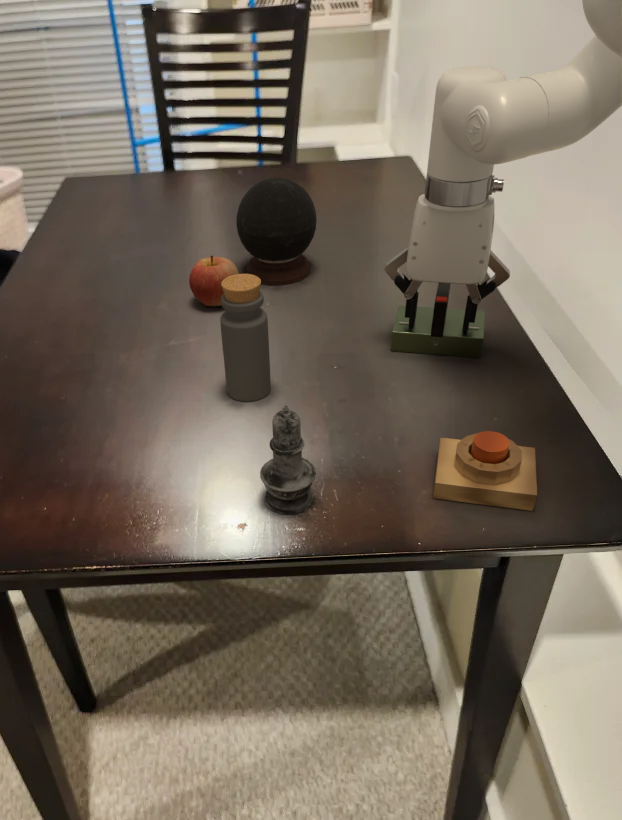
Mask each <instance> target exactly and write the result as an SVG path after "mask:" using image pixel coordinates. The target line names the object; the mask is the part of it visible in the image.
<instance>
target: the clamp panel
mask: <svg viewBox="0 0 622 820" xmlns="http://www.w3.org/2000/svg"><path fill="white" fill-rule="evenodd" d="M405 308H406V305H398V307H397V311H396V314H395V317H394V322H393V326H392V327H393V328H392V330H391V341H390V352H398V353H413V354H425V355H437V356H450V357H462V358H473V359H475V358H476V359H480V358H481V354H482V348H483V343H484V338H485V337H484V336H485V334H484V332H485V317H486V316H485V313H486V312H485V310H477V312H476V318H475V323H469V327H468V331H464V330H463V322H464V315H465V309H460V308H459V309H457V308H447V314H446V320H445V326H444V332H443V337H431V336H430V335H431V328H432V320H433V312H434V307H430V306H428V307H427V306H417V312H416V319H415V323H414V326H412V327H408V326H409V318H405Z"/></svg>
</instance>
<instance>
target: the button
mask: <svg viewBox="0 0 622 820" xmlns="http://www.w3.org/2000/svg"><path fill="white" fill-rule="evenodd" d="M477 433H478V434H477ZM477 433H475V434H476V435H475V436H474V438H473V443H472V448H471V455H472V457H473V458H474V459H476V460H478V461H480V462H482V463H488V464H498V463H502V462H504V461H505V459H506V457H507V453H508V449H509V444H510V443H509V440H508V439H509V438H508V437H507V436H506V435H505V434H502V433H500V432H497V431H495V430H494V431H492V430H485V431H483V430H482V431H480V432H477Z"/></svg>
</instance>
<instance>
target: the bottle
mask: <svg viewBox="0 0 622 820" xmlns="http://www.w3.org/2000/svg"><path fill="white" fill-rule="evenodd" d="M261 285H262V284H261V280H260V278H259V277H257V276H255V275H252V274H246V273H239V274H236V275H231V276H229V277H227V278H225V279H224V280H223V281H222V283H221V286H222V289H223V292H224V294H223V295H222V297H221V303H222V306H221V307H222V308H223V309H224V311H222V313H221V315H220V316H219V317H220V318H219V321H220V322H219V323H220V334H221V345H222V354H223V355H222V357H223V363H224V364H223V365H224V375H225V385H226V392H227V394H228V396H229V397H230V398H231V399H233V400H235V401H239V402H255V401H259V400H262V399H263V398H265V397H266V396H268V395H269V393H271V387H272V386H271V385H272V384H271V359H270V337H269V320H268V314H267V312H266V311H265V310H264V309H263V308H262V306H263V305H264V302H265V301H264V294H263V293H264V292H262V291H261Z"/></svg>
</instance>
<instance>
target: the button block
mask: <svg viewBox="0 0 622 820" xmlns="http://www.w3.org/2000/svg"><path fill="white" fill-rule="evenodd" d="M478 433H479V432H477V433H473V434H467V435H466V436H464V437H463V438H462V439H459V438H458V439H457V438H449V437H440V438H439V445H438V450H437V459H436V467H435V476H434V485H433V491H432V492H433V494H432V499H435V500H443V501H451V502H460V503H468V504H475V505H483V506H490V507H499V508H504V509H505V508H506V509H512V510H513V509H514V510H521V511H530V512H533V511H534V507H535V505H536V501H537V499H538V498H537V497H538V484H537V481H538V480H537V464H536V463H537V462H536V447H531V446H522V445H517V443H515V441H514V440H512V439H510V438H508V440H509V443H510V444H509V449H508V453H507V457H506V459H505V461H504V462H502V463H498V464H488V463H482V462H480V461H478V460H476V459H474V458H473V457H472V455H471V448H472V443H473V438H474V436H475V435H476V434H478Z"/></svg>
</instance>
